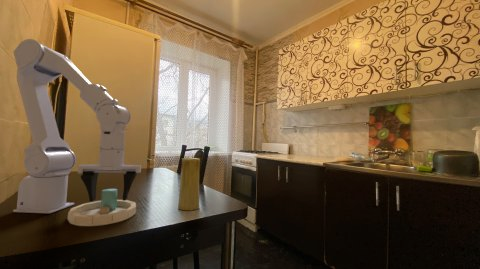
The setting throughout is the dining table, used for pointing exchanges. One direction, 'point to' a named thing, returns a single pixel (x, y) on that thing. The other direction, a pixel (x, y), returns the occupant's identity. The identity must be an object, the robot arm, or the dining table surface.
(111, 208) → the teal green block
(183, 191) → the vase
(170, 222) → the dining table surface
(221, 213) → the dining table surface
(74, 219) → the ring tray
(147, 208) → the dining table surface
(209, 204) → the dining table surface
